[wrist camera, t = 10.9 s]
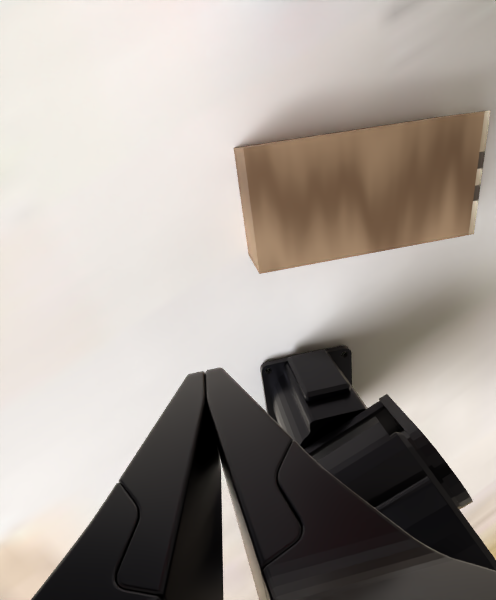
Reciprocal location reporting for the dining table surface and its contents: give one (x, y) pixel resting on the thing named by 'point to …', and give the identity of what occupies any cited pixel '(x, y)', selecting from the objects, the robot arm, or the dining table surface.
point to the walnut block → (361, 190)
